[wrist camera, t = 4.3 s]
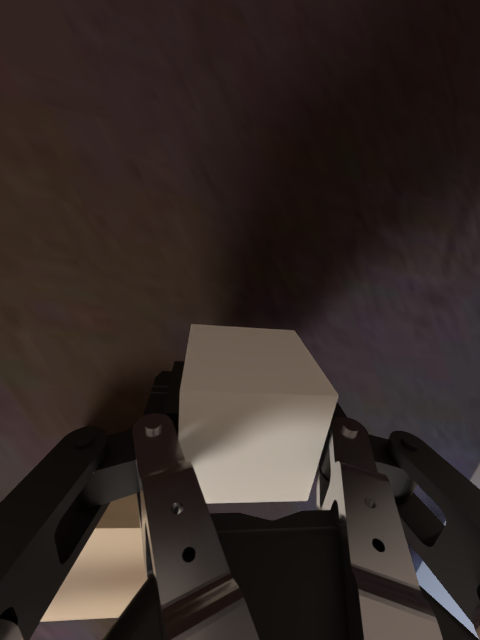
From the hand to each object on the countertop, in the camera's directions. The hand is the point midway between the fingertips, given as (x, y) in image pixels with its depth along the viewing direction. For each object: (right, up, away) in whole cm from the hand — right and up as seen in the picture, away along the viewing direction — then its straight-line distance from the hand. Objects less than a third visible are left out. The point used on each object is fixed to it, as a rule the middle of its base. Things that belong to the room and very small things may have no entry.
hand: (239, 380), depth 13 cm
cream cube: (0, 0, +1) cm, 1 cm away
